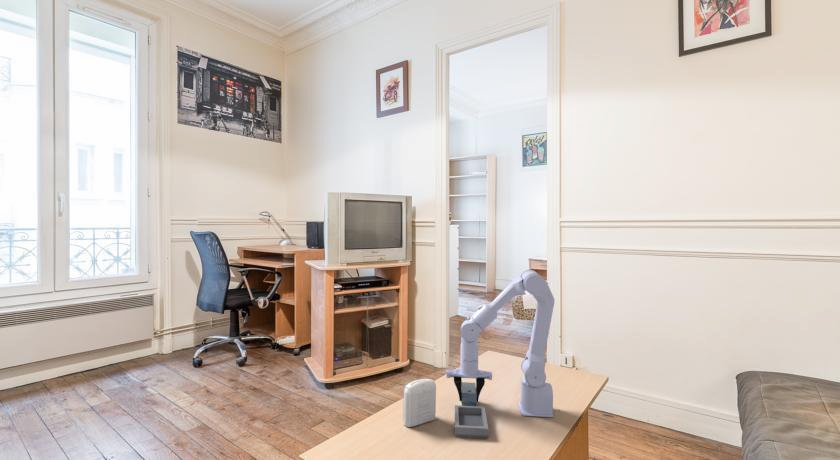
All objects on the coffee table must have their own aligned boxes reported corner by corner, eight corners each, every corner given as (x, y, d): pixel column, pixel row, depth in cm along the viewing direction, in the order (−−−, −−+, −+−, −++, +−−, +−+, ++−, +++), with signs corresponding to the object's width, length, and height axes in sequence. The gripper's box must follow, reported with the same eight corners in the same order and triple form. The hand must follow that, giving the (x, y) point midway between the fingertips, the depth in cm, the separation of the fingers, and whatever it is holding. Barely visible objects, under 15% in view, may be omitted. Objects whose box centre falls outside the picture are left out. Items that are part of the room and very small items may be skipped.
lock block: (474, 400, 128) (475, 382, 128) (476, 412, 120) (476, 393, 120) (461, 399, 128) (461, 382, 128) (461, 411, 120) (462, 392, 120)
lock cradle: (484, 415, 118) (484, 406, 118) (488, 438, 106) (488, 428, 106) (454, 414, 119) (454, 405, 119) (455, 436, 106) (455, 426, 106)
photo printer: (429, 413, 119) (430, 374, 119) (437, 419, 115) (438, 379, 115) (400, 423, 113) (401, 381, 113) (408, 429, 110) (409, 386, 109)
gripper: (490, 354, 127) (490, 395, 127) (446, 353, 128) (446, 393, 129) (493, 362, 120) (492, 405, 120) (446, 360, 121) (446, 403, 122)
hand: (468, 400), depth 124 cm, fingers closed on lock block, 4 cm apart
